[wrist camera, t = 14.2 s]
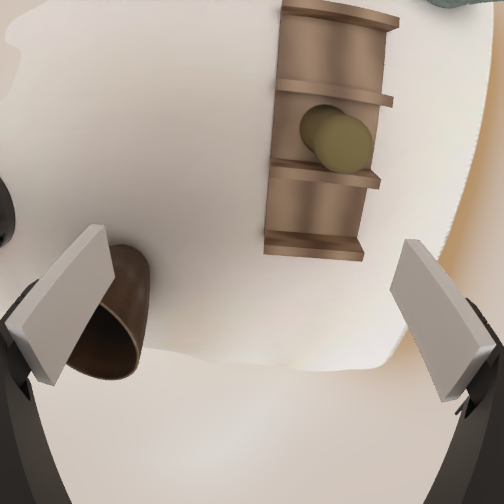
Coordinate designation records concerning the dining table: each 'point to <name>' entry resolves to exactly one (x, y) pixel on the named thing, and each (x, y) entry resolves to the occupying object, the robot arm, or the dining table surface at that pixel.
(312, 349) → the dining table surface
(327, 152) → the olive peg figure
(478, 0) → the grey-green tumbler
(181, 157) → the dining table surface
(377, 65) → the spice rack
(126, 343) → the plant pot
